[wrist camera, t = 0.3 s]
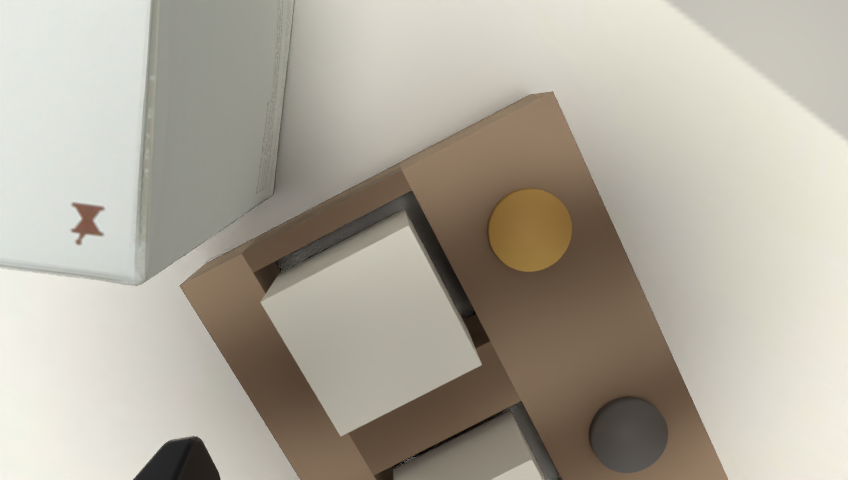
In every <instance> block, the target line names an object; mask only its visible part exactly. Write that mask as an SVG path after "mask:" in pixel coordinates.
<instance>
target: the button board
mask: <svg viewBox="0 0 848 480" xmlns="http://www.w3.org/2000/svg"><path fill="white" fill-rule="evenodd" d="M410 191H413V193H414V195H415V197H416V199H417V201H418V202H419V204H420V206H421V208H422V210H423V212H424V214H425V216H426V218H427V220H428V222H429V224H430V226H431V228H432V229H433V231H434V233H435V235H436V237H437V239H438V241H439V243H440V245H441V247H442V249H443V251H444V253H445V255H446V257H447V258H448V260H449V262H450V264H451V266H452V268H453V270H454V272H455V274H456V276H457V278H458V280H459V282H460V284H461V285H462V287H463V289H464V291H465V293H466V295H467V297H468V299H469V301H470V303H471V305H472V307H473V309H474V311H475V312H476V314H474V315H472V316H470V317H468V318H466V319H465V320H463V321H464V323H465V325H466V327H467V329H468V331H469V334H470V336H471V339H472V341H473V344H474V346H475V349H476V351H477V354H478V356H479V359H480V361H481V363H482V365H481V366H479V367H477V368H475V369H473V370H471V371H469V372H467V373H465V374H463V375H461V376H459V377H457V378H455V379H453V380H451V381H449V382H447V383H445V384H443V385H442V386H440V387H438V388H436V389H434V390H432V391H430V392H428V393H426V394H424V395H422V396H420V397H418V398H416V399H414V400H412V401H410V402H408V403H406V404H404V405H402V406H400V407H398V408H396V409H394V410H392V411H390V412H388V413H386V414H384V415H382V416H380V417H378V418H376V419H375V420H373V421H371V422H369V423H367V424H365V425H363V426H361V427H359V428H357V429H355V430H353V431H351V432H349V433H347V434H345V435H343V436H340V435H339V433H338V431H337V430H336V428H335V426H334V425H333V423H332V421H331V420H330V418H329V416H328V415H327V413H326V411H325V410H324V408H323V406H322V405H321V403H320V401H319V400H318V398H317V396H316V395H315V393H314V391H313V389H312V388H311V386H310V384H309V383H308V381H307V379H306V378H305V376H304V374H303V373H302V371H301V369H300V368H299V366H298V364H297V363H296V361H295V359H294V358H293V356H292V354H291V353H290V351H289V349H288V348H287V346H286V344H285V343H284V341H283V339H282V338H281V336H280V334H279V333H278V331H277V329H276V328H275V326H274V324H273V323H272V321H271V319H270V317H269V316H268V314H267V312H266V311H265V309H264V307H263V306H262V304H261V300H262V299H263V297H264V296H265V294H266V293H267V291H268V289H269V288H270V286H271V285H272V283H273V282H274V280H275V279H276V277H277V276H278V274H279V273H281V271H280V269H279V268H278V266H277V264H276V262H275V261H277V260H279V259H281V258H282V257H284V256H286V255H288V254H290V253H292V252H294V251H296V250H298V249H300V248H302V247H304V246H306V245H308V244H309V243H311V242H313V241H315V240H317V239H319V238H321V237H323V236H325V235H327V234H329V233H331V232H333V231H335V230H336V229H338V228H340V227H342V226H344V225H346V224H348V223H350V222H352V221H354V220H356V219H358V218H360V217H362V216H363V215H365V214H367V213H369V212H371V211H373V210H375V209H377V208H379V207H381V206H383V205H385V204H387V203H389V202H390V201H392V200H394V199H396V198H398V197H400V196H402V195H404V194H406V193H408V192H410ZM180 287H181V289H182V291H183V292H184V294H185V295H186V297H187V299H188V300H189V302H190V303H191V305H192V307H193V308H194V310H195V311H196V313H197V315H198V316H199V318H200V319H201V321H202V323H203V324H204V326H205V327H206V329H207V331H208V332H209V334H210V335H211V337H212V339H213V340H214V342H215V343H216V345H217V347H218V348H219V350H220V351H221V353H222V355H223V356H224V358H225V360H226V361H227V363H228V364H229V366H230V368H231V369H232V371H233V372H234V374H235V376H236V377H237V379H238V380H239V382H240V384H241V385H242V387H243V388H244V390H245V392H246V393H247V395H248V396H249V398H250V400H251V401H252V403H253V404H254V406H255V408H256V409H257V411H258V412H259V414H260V416H261V417H262V419H263V420H264V422H265V424H266V425H267V427H268V428H269V430H270V432H271V433H272V435H273V436H274V438H275V440H276V441H277V443H278V444H279V446H280V448H281V449H282V451H283V452H284V454H285V456H286V457H287V459H288V461H289V462H290V464H291V465H292V467H293V469H294V470H295V472H296V473H297V475H298V477H299V478H300V480H393V469H395V467H394V465H395V464H397V463H399V462H401V461H403V460H405V459H407V458H409V457H411V456H413V455H415V454H417V453H419V452H421V451H423V450H425V449H427V448H429V447H431V446H433V445H435V444H437V443H439V442H441V441H443V440H445V439H447V438H449V437H451V436H453V435H455V434H457V433H459V432H461V431H463V430H465V429H467V428H469V427H471V426H473V425H475V424H477V423H479V422H481V421H483V420H485V419H487V418H489V417H491V416H493V415H495V414H497V413H499V412H501V411H503V410H505V409H506V408H508V407H510V406H512V405H514V404H516V403H518V402H520V401H522V403H523V405H524V407H525V409H526V411H527V413H528V415H529V417H530V419H531V420H532V422H533V424H534V426H535V428H536V430H537V432H538V434H539V436H540V438H541V440H542V442H543V444H544V446H545V448H546V449H547V451H548V453H549V455H550V457H551V459H552V461H553V463H554V465H555V467H556V469H557V471H558V473H559V475H560V476H561V478H562V480H728V478H727V476H726V474H725V472H724V469H723V467H722V465H721V463H720V461H719V458H718V456H717V454H716V452H715V449H714V447H713V445H712V443H711V441H710V438H709V436H708V434H707V432H706V430H705V427H704V425H703V423H702V421H701V418H700V416H699V414H698V412H697V410H696V407H695V405H694V403H693V401H692V399H691V396H690V394H689V392H688V390H687V387H686V385H685V383H684V381H683V379H682V376H681V374H680V372H679V370H678V368H677V365H676V363H675V361H674V359H673V356H672V354H671V352H670V350H669V348H668V345H667V343H666V341H665V339H664V337H663V334H662V332H661V330H660V328H659V325H658V323H657V321H656V319H655V317H654V314H653V312H652V310H651V308H650V306H649V303H648V301H647V299H646V297H645V294H644V292H643V290H642V288H641V286H640V283H639V281H638V279H637V277H636V275H635V272H634V270H633V268H632V266H631V263H630V261H629V259H628V257H627V255H626V252H625V250H624V248H623V246H622V243H621V241H620V239H619V237H618V235H617V232H616V230H615V228H614V226H613V224H612V221H611V219H610V217H609V215H608V212H607V210H606V208H605V206H604V204H603V201H602V199H601V197H600V195H599V193H598V190H597V188H596V186H595V184H594V181H593V179H592V177H591V175H590V173H589V170H588V168H587V166H586V164H585V162H584V159H583V157H582V155H581V153H580V150H579V148H578V146H577V144H576V142H575V139H574V137H573V135H572V133H571V131H570V128H569V126H568V124H567V122H566V119H565V117H564V115H563V113H562V111H561V108H560V106H559V104H558V102H557V100H556V97H555V95H554V93H553V92H546V93H539V94H532V95H529V96H527V97H525V98H523V99H521V100H519V101H517V102H515V103H513V104H511V105H510V106H508V107H506V108H504V109H502V110H500V111H498V112H496V113H494V114H492V115H490V116H488V117H486V118H485V119H483V120H481V121H479V122H477V123H475V124H473V125H471V126H469V127H467V128H465V129H463V130H461V131H460V132H458V133H456V134H454V135H452V136H450V137H448V138H446V139H444V140H442V141H440V142H438V143H436V144H435V145H433V146H431V147H429V148H427V149H425V150H423V151H421V152H419V153H417V154H415V155H413V156H412V157H410V158H408V159H406V160H404V161H402V162H400V163H398V164H396V165H394V166H392V167H390V168H388V169H387V170H385V171H383V172H381V173H379V174H377V175H375V176H373V177H371V178H369V179H367V180H365V181H363V182H362V183H360V184H358V185H356V186H354V187H352V188H350V189H348V190H346V191H344V192H342V193H340V194H338V195H337V196H335V197H333V198H331V199H329V200H327V201H325V202H323V203H321V204H319V205H317V206H315V207H314V208H312V209H310V210H308V211H306V212H304V213H302V214H300V215H298V216H296V217H294V218H292V219H290V220H289V221H287V222H285V223H283V224H281V225H279V226H277V227H275V228H273V229H271V230H269V231H267V232H265V233H264V234H262V235H260V236H258V237H256V238H254V239H252V240H250V241H248V242H246V243H244V244H242V245H241V246H239V247H237V248H235V249H233V250H231V251H229V252H227V253H225V254H223V255H221V256H219V257H217V258H216V259H214V260H212V261H210V262H208V263H206V264H205V265H203V266H202V267H201V268H200V269H199V270H198V271H196V272H195V273H194V274H193V275H192V276H190V277H189V278H188V279H187V280H186V281H184V282H183V283H182V284H181V285H180Z"/></svg>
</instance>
